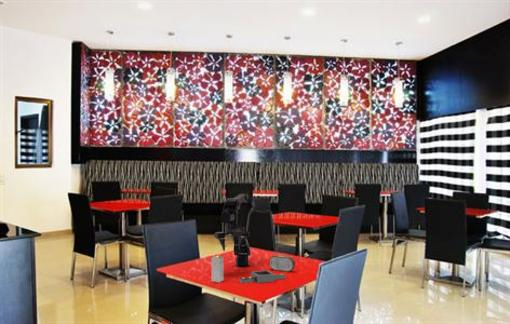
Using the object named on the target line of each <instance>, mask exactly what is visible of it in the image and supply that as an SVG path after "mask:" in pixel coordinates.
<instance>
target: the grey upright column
mask: <svg viewBox="0 0 510 324" xmlns="http://www.w3.org/2000/svg"><path fill="white" fill-rule="evenodd" d="M222 281H224V256H223V255H222V256H221V255H217V254H216V255H214V256H213V257H211V282H213V283H221V282H222Z"/></svg>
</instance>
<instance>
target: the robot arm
mask: <svg viewBox="0 0 510 324" xmlns="http://www.w3.org/2000/svg"><path fill="white" fill-rule="evenodd" d="M255 204H256V203H255V201H254V199H253V198H252V197H251V196H249V194H248V193H239V194H238V195H236V196H235V197H233V198H231V197H230V198H229V197H228V198H226V200H225V201H224V204H223V208H222V212H223V213H222V214H220V221H221V223H222V224H225V225H226V230H225V232H224V231H216V232H215V233H214V238H215V239H216V240H218V241H219V243H220V245H221V248H222V251H223V252H226V245H225V244H226V242H225V241H226V237H233V238H236V239H235V240H234V245H233V254H234V256H236V257H235V264H234V265H235V266H236V267H238V268H242V267H250V264H249V256H251V254H252V251H251V250H252V249H251V248H250V244H249V241H248V238H249V237H250V232H249V231H248V230H249V223H250V216H251V215H252V214H253V212H254V208H255ZM239 209H240V210H239ZM239 211H240V212H241V219H240V227H239V223H238V213H239Z"/></svg>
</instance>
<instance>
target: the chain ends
mask: <svg viewBox="0 0 510 324" xmlns="http://www.w3.org/2000/svg"><path fill="white" fill-rule="evenodd" d="M286 277H287V276H286V275H285V274H284V273H278V274H275V273H273V272H271V271H270V270H267V269H266V270H264V269H263V270H258V271H257V270H254V271H251V272H250V276H248V277H244V276H242V277H239V278H238V279H239V282H240V283H241V284H244V283H245V284H246V283H247V284H249V283H256V282H257V283H256V284H262V283H271V282H272V283H273V282H275V281H276V280H278V281H279V280H286Z"/></svg>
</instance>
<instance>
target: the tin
mask: <svg viewBox="0 0 510 324" xmlns="http://www.w3.org/2000/svg"><path fill="white" fill-rule="evenodd" d="M268 265H269V267H270V268H271V270H273V271H276V272H277V271H279V272H286V273H289V272H292V271H293V270H294V269H295V268H296V261H295V259H294V258H293V257H291V256H290V255H281V254H274V255H272V256H271V257H270V258H269V260H268Z"/></svg>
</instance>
